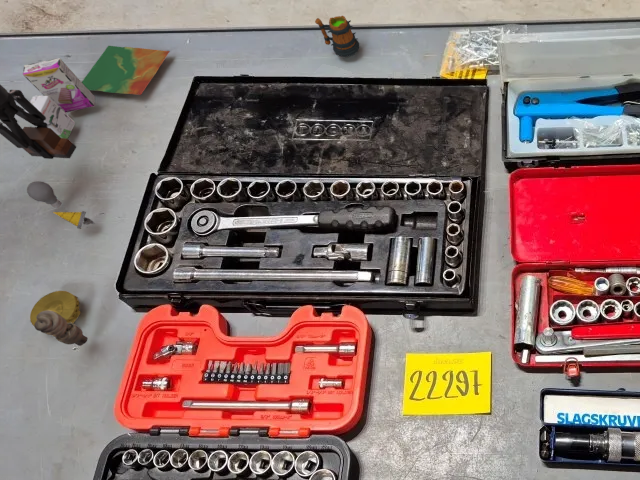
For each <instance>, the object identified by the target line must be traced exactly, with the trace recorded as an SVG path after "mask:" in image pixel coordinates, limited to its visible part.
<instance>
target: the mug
mask: <svg viewBox="0 0 640 480" xmlns="http://www.w3.org/2000/svg"><path fill="white" fill-rule="evenodd" d="M351 22H352V21H351V20H347V18H346V16H344V15H341V16H340V15H338V16H334V17H330V18H329V19H328V24H324V23H323V21H322V20H321V19H320V18H319V17H317V18H316V19H315V20H314V23H315V24H316V25H318V27H319V29H320V31H321V34H322V36H323V40H324V44H325V45H327V46H332V50H333V52H334V54H335V55H336V56H338V57H342V58H346V57H347V58H349V57H351V56H353V55H355V54H357V53H358V52H359V50H360V47H361V46H360V42H359V40H358V38H357V37H356V33H357V32H353V31H352V29H351V28H354V25H351V24H350V23H351ZM326 29H328V31H326ZM329 33H330V34H331V36H329V35H328V34H329Z"/></svg>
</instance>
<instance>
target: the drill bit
mask: <svg viewBox="0 0 640 480" xmlns="http://www.w3.org/2000/svg"><path fill="white" fill-rule="evenodd" d="M52 213H53V214H55V215H56V216H58V217H60V218H62V219H63V220H64V221H67V222H68V223H70V224H72V225H74V226H75V227H76V228H77V229H80V230H81V229H82V227H83V225H86V226H88V225H94V224H96V223H95V222H94V221H93V220H92V219H91V218H89V217H87V216H86V214H87V211H84V210H81V211H53V212H52Z"/></svg>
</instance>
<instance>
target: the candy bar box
mask: <svg viewBox="0 0 640 480" xmlns="http://www.w3.org/2000/svg"><path fill="white" fill-rule="evenodd" d="M22 71H23V72H22V76H23V77H24V78H25V79H26V80H27V81H28V82H29V83H31V85H32V86H33V87H34V88H36V90H37V91H39V93H41V95H42V96H49V97H50V98H51V99H52V100H53V101H54V102H55V103H56V104H57V105H58V106H59V107H60V108H61V109H62V110H63V111H64V112H65V113H66V114H67V113H70V112H74V111H79V110H83V109H88V108H89V109H90V108H93V107H96V96H95V95H94V94H93V93H92V92H91V90H88V89H87V88H86V86H85V85H84V84H83V83H82V81H81V80H80V79H79V77H78V76H77V75H76V74H75V73H74V72H73V71H72V69H70V67H68V65H67V63H65V62H64V61H63V60H62V59H61V58H60V57H58V58H53V59H49V60H44V61H43V60H42V61H38V62H34V63H28V64H24V65H23V70H22Z"/></svg>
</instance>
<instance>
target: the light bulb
mask: <svg viewBox="0 0 640 480" xmlns="http://www.w3.org/2000/svg"><path fill="white" fill-rule="evenodd" d="M26 193H27V195H28V197H29V198H31V199H32V200H33V201H36V202H40V203H45V204H47V205H50V206H51V207H53V208H54V209H59V208H61V206H62V205H63V203H62V201H61V200H60V199H58V197H57V196H56V195H55V191H54V189H53V187H52V186H51V185H50V184H49V183H47V182H45V181H41V180H38V181H37V180H36V181H32V182H31V183H29V184H28V185H27V187H26Z"/></svg>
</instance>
